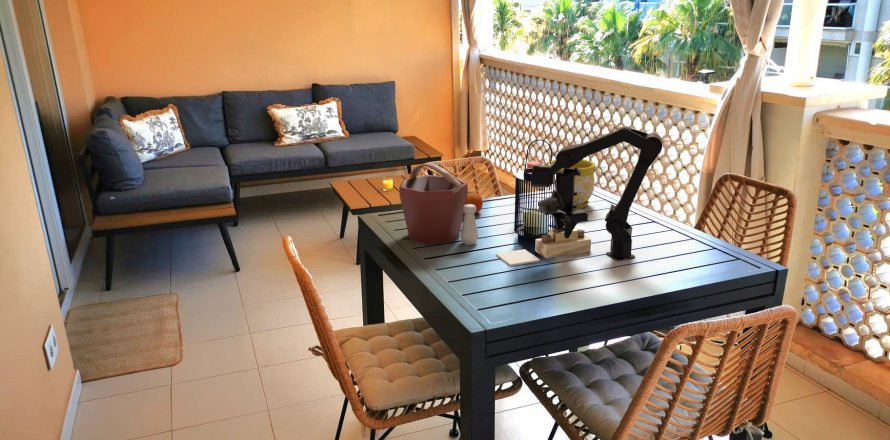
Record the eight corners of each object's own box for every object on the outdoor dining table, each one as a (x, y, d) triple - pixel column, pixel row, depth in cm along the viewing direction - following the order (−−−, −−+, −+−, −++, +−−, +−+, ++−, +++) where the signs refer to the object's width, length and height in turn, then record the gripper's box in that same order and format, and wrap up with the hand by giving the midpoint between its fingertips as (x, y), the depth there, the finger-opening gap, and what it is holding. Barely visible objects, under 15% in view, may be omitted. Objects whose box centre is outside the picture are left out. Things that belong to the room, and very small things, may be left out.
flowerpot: (597, 211, 260) (599, 168, 256) (549, 211, 261) (550, 169, 256) (589, 198, 278) (591, 158, 273) (543, 198, 278) (545, 158, 273)
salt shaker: (476, 246, 226) (476, 208, 222) (459, 245, 227) (459, 207, 223) (479, 240, 231) (479, 203, 227) (462, 239, 232) (462, 202, 228)
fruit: (468, 219, 254) (468, 198, 251) (449, 213, 261) (448, 192, 259) (488, 213, 261) (488, 192, 258) (469, 207, 268) (469, 187, 266)
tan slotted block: (577, 239, 219) (578, 228, 217) (555, 242, 216) (555, 231, 215) (570, 235, 222) (571, 224, 221) (548, 238, 219) (549, 227, 218)
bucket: (476, 243, 229) (476, 169, 221) (413, 252, 221) (411, 176, 213) (449, 222, 250) (448, 154, 243) (390, 230, 243) (387, 160, 235)
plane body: (590, 251, 220) (591, 233, 218) (545, 258, 214) (546, 239, 213) (578, 244, 226) (579, 226, 224) (535, 251, 221) (535, 233, 219)
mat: (539, 261, 212) (539, 259, 212) (510, 266, 209) (510, 264, 208) (524, 250, 221) (524, 249, 221) (496, 255, 217) (496, 253, 217)
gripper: (527, 184, 220) (526, 230, 224) (557, 198, 203) (555, 249, 208) (558, 180, 223) (557, 226, 228) (590, 194, 207) (588, 243, 211)
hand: (563, 236), depth 219 cm, fingers closed on tan slotted block, 4 cm apart
